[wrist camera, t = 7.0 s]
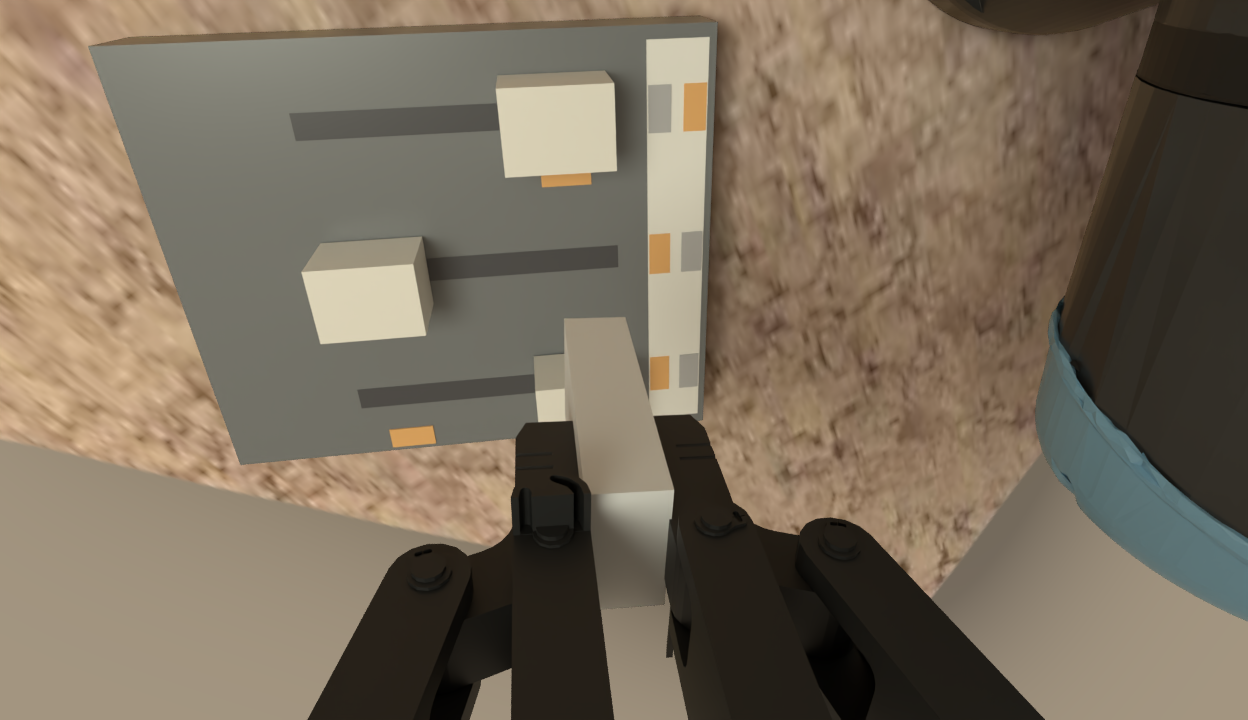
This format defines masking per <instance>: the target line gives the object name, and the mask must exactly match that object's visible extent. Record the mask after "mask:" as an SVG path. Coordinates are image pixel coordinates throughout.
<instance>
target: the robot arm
mask: <svg viewBox="0 0 1248 720" xmlns="http://www.w3.org/2000/svg"><path fill="white" fill-rule="evenodd" d="M929 1H931V2H932V3H933V4H934V5H936V6H937V7H938V8H939V9H941V10H943V11H944V12H946V13H947V14H949V15H951V16H953V17H954V18H956V19H958V20H961V21H963V22H966V23H968V24H971V25H974V26H978V27H981V28H987V29H992V30H998V31H1004V32H1011V33H1017V34H1027V35H1047V34H1058V33H1065V32H1071V31H1077V30H1081V29H1085V28H1089V27H1092V26H1095V25H1098V24H1101V23H1104V22H1107V21H1110V20H1112V19H1115V18H1118V17H1121V16H1124V15H1127V14H1130V13H1133V12H1136V11H1139V10H1142V9H1145V8H1148V7H1151V6H1153V5H1156V4H1159V6H1158V9H1157V12H1156V15H1155V19H1154V22H1153V25H1152V28H1151V32H1150V35H1149V38H1148V41H1147V44H1146V47H1145V51H1144V54H1143V57H1142V60H1141V63H1140V66H1139V69H1138V70H1137V74H1136V76H1135V79H1134V82H1133V85H1132V88H1131V91H1130V95H1129V98H1128V101H1127V104H1126V107H1125V110H1124V113H1123V116H1122V120H1121V123H1120V126H1119V129H1118V132H1117V135H1116V138H1115V141H1114V145H1113V148H1112V151H1111V154H1110V157H1109V160H1108V163H1107V166H1106V170H1105V173H1104V176H1103V179H1102V182H1101V185H1100V188H1099V191H1098V195H1097V198H1096V201H1095V204H1094V207H1093V210H1092V213H1091V216H1090V220H1089V223H1088V226H1087V229H1086V232H1085V235H1084V238H1083V241H1082V245H1081V248H1080V251H1079V254H1078V257H1077V260H1076V263H1075V266H1074V270H1073V273H1072V276H1071V279H1070V282H1069V285H1068V288H1067V291H1066V295H1065V296H1064V297H1063V298H1062V299H1061V300H1060V302H1059V304H1058V306H1057V308H1056V309H1055V310H1054V311H1053V312H1052V315H1051V318H1050V321H1049V327H1048V337H1049V345H1050V347H1049V351H1048V355H1047V359H1046V363H1045V367H1044V371H1043V375H1042V379H1041V383H1040V387H1039V391H1038V395H1037V400H1036V410H1035V421H1036V430H1037V434H1038V438H1039V442H1040V445H1041V449H1042V451H1043V454H1044V456H1045V458H1046V460H1047V462H1048V464H1049V466H1050V467H1051V469H1052V470H1053V472H1054V473H1055V475H1056V477H1057V478H1058V479H1059V481H1060V482H1061V483H1062V484H1063V485H1064V486H1065V487H1066V488H1067V489H1068V490H1069V491H1071V492H1072V493H1073V494H1074V495H1075V497H1076V501H1077V504H1078V506H1079V507H1080V509H1081V510H1082V511H1083V512H1084V513H1085V514H1086V515H1087V516H1088V517H1089V519H1091V520H1092V521H1093V522H1094V523H1095V524H1096V525H1097V526H1098V527H1099V528H1100V529H1101V530H1102V531H1103V532H1104V533H1106V534H1107V535H1108V536H1109V537H1110V538H1111V539H1112V540H1113V541H1115V542H1116V543H1117V544H1118V545H1119V546H1121V547H1122V548H1123V549H1125V550H1126V551H1127V552H1128V553H1130V554H1131V555H1132V556H1134V557H1135V558H1136V559H1138V560H1139V561H1140V562H1142V563H1143V564H1145V565H1146V566H1147V567H1149V568H1150V569H1152V570H1153V571H1155V572H1156V573H1158V574H1159V575H1161V576H1162V577H1164V578H1165V579H1167V580H1169V581H1170V582H1172V583H1174V584H1175V585H1177V586H1179V587H1180V588H1182V589H1184V590H1186V591H1188V592H1189V593H1191V594H1193V595H1194V596H1196V597H1198V598H1200V599H1202V600H1204V601H1206V602H1208V603H1210V604H1211V605H1213V606H1215V607H1217V608H1220V609H1221V610H1224V611H1226V612H1228V613H1230V614H1232V615H1234V616H1236V617H1239V618H1241V619H1243V620H1245V621H1248V0H929ZM564 360H565V418H566V421H555V422H531V423H525V425H524V426H523V428H522V429H521V430H520V432H519V433H518V435H517V436H516V457H515V487H514V489H513V492H512V496H511V510H512V529H511V531H510V532H509V534H508V535H507V536H506V537H505V538H504V539H503V540H502V541H501V542H499V543H498V544H496V545H495V546H493V547H491V548H489V549H487V550H484V551H482V552H479V553H476V554H472V555H469V556H467V555H466V554H465V553H463V552H462V551H461V550H459V549H458V548H456V547H453V546H449V545H446V544H426V545H423V546H420V547H417V548H413V549H411V550H409V551H408V552H406V553H404V554H403V555H401V556H400V557H398V558H397V559H396V561H395V562H394V563H393V564H392V565H391V567H390V568H389V569H388V571H387V573H386V575H385V577H384V579H383V580H382V582H381V584H380V586H379V588H378V590H377V592H376V593H375V595H374V597H373V599H372V601H371V603H370V605H369V607H368V608H367V610H366V612H365V614H364V616H363V618H362V619H361V621H360V623H359V625H358V627H357V629H356V631H355V633H354V634H353V636H352V638H351V640H350V642H349V644H348V646H347V647H346V649H345V651H344V653H343V655H342V657H341V659H340V660H339V662H338V664H337V666H336V668H335V670H334V671H333V673H332V675H331V677H330V679H329V681H328V683H327V685H326V687H325V688H324V690H323V692H322V694H321V696H320V698H319V699H318V701H317V703H316V705H315V707H314V709H313V710H312V712H311V714H310V716H309V718H308V720H470V716H471V714H472V710H473V707H474V704H475V701H476V698H477V695H478V692H479V689H480V685H481V680H482V679H485V678H487V677H490V676H492V675H495V674H498V673H500V672H503V671H505V670H508V669H510V668H512V684H511V686H512V688H511V689H512V690H511V697H512V698H511V720H614V714H613V706H612V698H611V690H610V682H609V674H608V666H607V658H606V650H605V642H604V633H603V625H602V617H601V610H602V609H615V608H628V607H642V606H655V605H664V602H665V590H666V589H667V593H668V597H669V602H670V616H669V626H668V638H667V652H666V657H672V655H673V650H674V655H675V659H676V664H677V669H678V673H679V677H680V683H681V687H682V691H683V697H684V701H685V706H686V711H687V715H688V720H1045V719H1044V718H1043V717H1042V716H1041V715H1040V714H1039V713H1038V712H1037V711H1036V710H1035V709H1034V707H1033V706H1032V705H1031V704H1030V703H1029V702H1028V701H1027V700H1026V699H1025V698H1024V697H1023V696H1022V695H1021V694H1020V693H1019V692H1018V691H1017V689H1016V688H1015V687H1014V686H1013V685H1012V684H1011V683H1010V682H1009V681H1008V680H1007V679H1006V678H1005V677H1004V676H1003V675H1002V674H1001V673H1000V671H999V670H998V669H997V668H996V667H995V666H994V665H993V664H992V663H991V662H990V661H989V660H988V659H987V658H986V657H985V656H984V655H983V653H982V652H981V651H980V650H979V649H978V648H977V647H976V646H975V645H974V644H973V643H972V642H971V641H970V640H969V639H968V638H967V637H966V635H965V634H964V633H963V632H962V631H961V630H960V629H959V628H958V627H957V626H956V625H955V624H954V623H953V622H952V621H951V620H950V619H949V617H948V616H946V614H945V613H944V612H943V611H942V610H941V609H940V608H939V607H938V606H937V605H936V604H935V603H934V602H933V601H932V599H931V598H930V597H929V596H928V595H927V594H926V593H925V592H924V591H923V590H922V589H921V588H920V587H919V586H918V585H917V584H916V583H915V581H914V580H913V579H912V578H911V577H910V576H909V575H908V574H907V573H906V572H905V571H904V570H903V569H902V568H901V567H900V566H899V565H898V563H897V562H896V561H895V560H894V559H893V558H892V557H891V556H890V555H889V554H888V553H887V552H886V551H885V550H884V549H883V548H882V547H881V545H880V544H879V543H878V542H877V541H876V540H875V539H874V538H873V537H872V536H871V535H870V534H869V533H867V532H866V531H865V530H863V529H862V528H861V527H860V526H858V525H855V524H853V523H851V522H848V521H846V520H842V519H836V518H820V519H815V520H813V521H811V522H809V523H807V524H806V525H805V526H804V527H803V529H802V530H801V531H800V535H793V534H788V533H782V532H777V531H772V530H769V529H765V528H762V527H760V526H758V525H755V524H754V523H753V521H752V519H751V518H750V516H749V515H748V514H747V512H746V511H745V510H744V509H742V508H741V507H739V506H738V505H736V504H735V503H733V501H732V498H731V496H730V493H729V490H728V488H727V485H726V483H725V480H724V477H723V475H722V472H721V469H720V467H719V464H718V462H717V459H715V454H714V451H713V449H712V446H710V441H709V438H708V436H707V433H706V430H705V428H704V427H703V426H702V425H701V424H700V423H699V422H698V421H697V420H696V419H694V418H693V417H692V416H691V415H690V414H684V415H660V416H653V413H652V410H651V406H650V403H649V399H648V396H647V392H646V389H645V385H644V382H643V378H642V375H641V371H640V367H639V364H638V360H637V357H636V353H635V350H634V346H633V343H632V339H631V336H630V332H629V329H628V325H627V322H626V318H625V317H609V318H568V319H564Z"/></svg>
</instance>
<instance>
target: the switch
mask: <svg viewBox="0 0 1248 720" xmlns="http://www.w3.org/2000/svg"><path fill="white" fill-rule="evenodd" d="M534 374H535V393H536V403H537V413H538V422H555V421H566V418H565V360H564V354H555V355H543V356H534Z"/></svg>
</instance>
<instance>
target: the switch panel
mask: <svg viewBox="0 0 1248 720" xmlns="http://www.w3.org/2000/svg"><path fill="white" fill-rule="evenodd" d="M717 25H718V22H716V21H714V20H711V19H708V18H705V17H702V16H676V17H650V18H624V19H597V20H571V21H545V22H518V23H492V24H465V25H439V26H413V27H386V28H360V29H333V30H307V31H281V32H254V33H228V34H202V35H175V36H149V37H128V38H123V39H119V40H114V41H110V42H105V43H101V44H97V45H92V46H88V48H89V50H90V53H91V56H92V59H93V61H94V64H95V67H96V70H97V72H98V75H99V78H100V80H101V83H102V86H103V89H104V91H105V94H106V97H107V100H108V102H109V105H110V108H111V111H112V113H113V116H114V119H115V122H116V124H117V127H118V130H119V133H120V135H121V138H122V141H123V144H124V146H125V149H126V152H127V155H128V157H129V160H130V163H131V166H132V168H133V171H134V174H135V177H136V179H137V182H138V185H139V188H140V190H141V193H142V196H143V199H144V201H145V204H146V207H147V210H148V212H149V215H150V218H151V221H152V223H153V226H154V229H155V231H156V234H157V237H158V240H159V242H160V245H161V248H162V251H163V253H164V256H165V259H166V262H167V264H168V267H169V270H170V273H171V275H172V278H173V281H174V284H175V286H176V289H177V292H178V295H179V297H180V300H181V303H182V306H183V308H184V311H185V314H186V317H187V319H188V322H189V325H190V328H191V330H192V333H193V336H194V339H195V341H196V344H197V347H198V350H199V352H200V355H201V358H202V361H203V363H204V366H205V369H206V371H207V374H208V377H209V380H210V382H211V385H212V388H213V391H214V393H215V396H216V399H217V402H218V404H219V407H220V410H221V413H222V415H223V418H224V421H225V424H226V426H227V429H228V432H229V435H230V437H231V440H232V443H233V446H234V448H235V451H236V454H237V457H238V459H239V462H240V465H245V464H255V463H265V462H276V461H286V460H296V459H307V458H317V457H327V456H338V455H348V454H359V453H369V452H379V451H390V450H400V449H410V448H421V447H431V446H441V445H452V444H462V443H472V442H483V441H493V440H503V439H514V438H516V436H517V435H518V433H519V432H520V430H521V429H522V428H523V426H524V425H525V423H531V422H538V413H537V403H536V393H535V374H534V356H543V355H555V354H564V319H568V318H609V317H625V318H626V322H627V325H628V329H629V332H630V336H631V339H632V343H633V346H634V350H635V353H636V357H637V360H638V364H639V367H640V371H641V375H642V378H643V382H644V385H645V389H646V392H647V396H648V399H649V403H650V406H651V410H652V413H653V416H660V415H684V414H690V415H691V416H692V417H693V418H694V419H696V420H697V421H700V420H703V402H704V375H705V348H706V321H707V294H708V267H709V241H710V214H711V187H712V160H713V133H714V106H715V79H716V52H717ZM603 70H605V71H606V73H607V74H608V75H609V77H610V78H611V79H612V81H613V82H614V88H615V123H616V157H617V171H611V172H594V173H577V174H561V175H544V176H527V177H510V178H505V172H504V162H503V153H502V143H501V134H500V125H499V115H498V106H497V97H496V82H497V75H515V74H537V73H559V72H581V71H603ZM421 236H422V239H423V244H424V250H425V256H426V262H427V268H428V274H429V279H430V285H431V291H432V297H433V303H434V304H433V308H432V313H431V317H430V321H429V326H428V330H427V334H426V336H417V337H404V338H392V339H380V340H367V341H355V342H343V343H330V344H320V340H319V337H318V333H317V329H316V325H315V322H314V318H313V314H312V310H311V307H310V303H309V299H308V295H307V292H306V288H305V284H304V280H303V277H302V273H301V272H302V270H303V269H304V267H305V266H306V264H307V263H308V261H309V260H310V258H311V257H312V255H313V254H314V252H315V251H316V249H317V248H318V246H319V245H320V243H332V242H347V241H362V240H377V239H391V238H406V237H421Z"/></svg>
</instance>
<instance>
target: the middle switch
mask: <svg viewBox="0 0 1248 720" xmlns="http://www.w3.org/2000/svg"><path fill="white" fill-rule="evenodd" d="M301 273H302V277H303V280H304V284H305V288H306V292H307V295H308V299H309V303H310V307H311V310H312V314H313V318H314V322H315V325H316V329H317V333H318V337H319V340H320V344H330V343H343V342H355V341H367V340H380V339H392V338H404V337H417V336H426V334H427V330H428V326H429V321H430V317H431V313H432V308H433V304H434V303H433V297H432V291H431V285H430V279H429V274H428V268H427V262H426V256H425V250H424V244H423V239H422V236H421V237H406V238H391V239H377V240H362V241H347V242H332V243H320V245H319V246H318V248H317V249H316V251H315V252H314V254H313V255H312V257H311V258H310V260H309V261H308V263H307V264H306V266H305V267H304V269H303V270H302V272H301Z"/></svg>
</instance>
